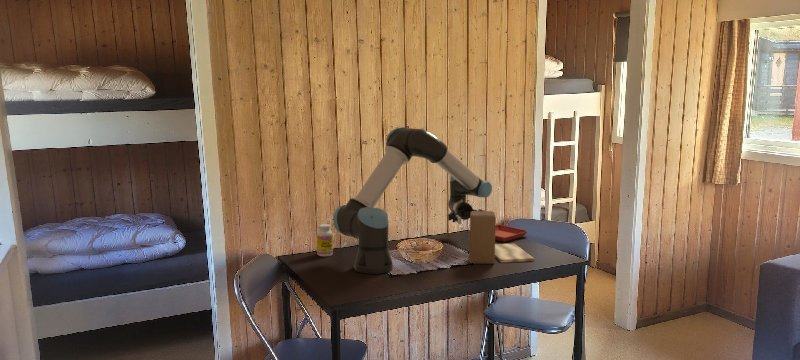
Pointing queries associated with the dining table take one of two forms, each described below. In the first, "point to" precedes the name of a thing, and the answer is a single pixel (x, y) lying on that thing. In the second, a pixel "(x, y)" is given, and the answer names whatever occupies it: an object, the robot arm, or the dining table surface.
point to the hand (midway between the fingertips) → (476, 220)
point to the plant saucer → (508, 233)
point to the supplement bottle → (324, 240)
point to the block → (482, 237)
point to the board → (511, 253)
